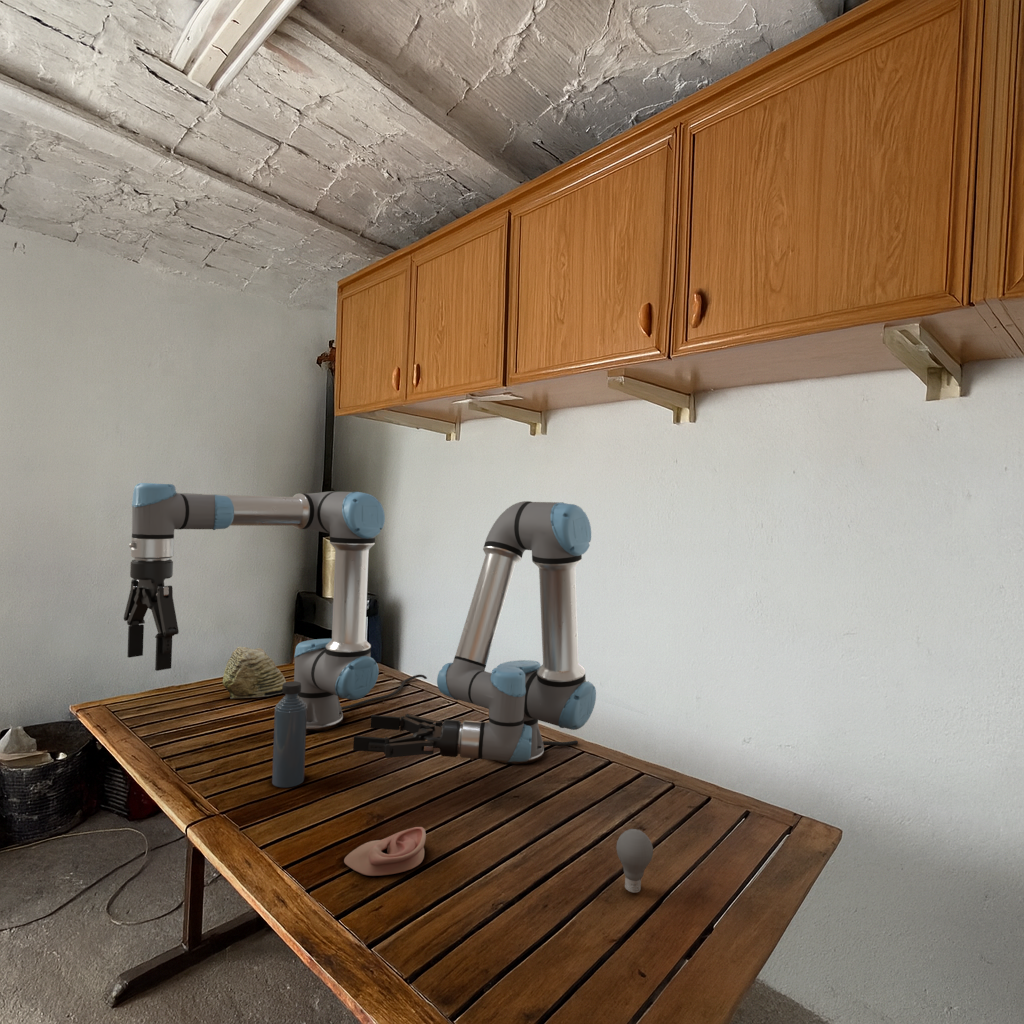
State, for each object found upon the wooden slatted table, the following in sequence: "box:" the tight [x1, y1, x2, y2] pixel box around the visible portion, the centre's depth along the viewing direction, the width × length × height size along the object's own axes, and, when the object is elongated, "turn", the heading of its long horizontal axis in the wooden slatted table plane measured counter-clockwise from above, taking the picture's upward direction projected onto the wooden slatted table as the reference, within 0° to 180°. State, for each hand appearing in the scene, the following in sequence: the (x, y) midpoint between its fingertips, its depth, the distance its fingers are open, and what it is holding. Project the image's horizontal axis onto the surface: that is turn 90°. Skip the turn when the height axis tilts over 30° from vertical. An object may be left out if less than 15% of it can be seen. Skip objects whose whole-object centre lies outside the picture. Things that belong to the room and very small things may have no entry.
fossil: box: [222, 646, 287, 699], centre depth 198 cm, size 9×18×15 cm, turn 132°
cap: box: [282, 680, 301, 695], centre depth 140 cm, size 4×4×2 cm
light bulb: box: [615, 828, 654, 894], centre depth 106 cm, size 6×6×10 cm
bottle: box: [271, 693, 307, 789], centre depth 140 cm, size 7×7×21 cm
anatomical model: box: [343, 826, 427, 877], centre depth 112 cm, size 13×4×12 cm
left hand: (148, 662), depth 129 cm, fingers open, 13 cm apart
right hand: (362, 731), depth 137 cm, fingers open, 13 cm apart
